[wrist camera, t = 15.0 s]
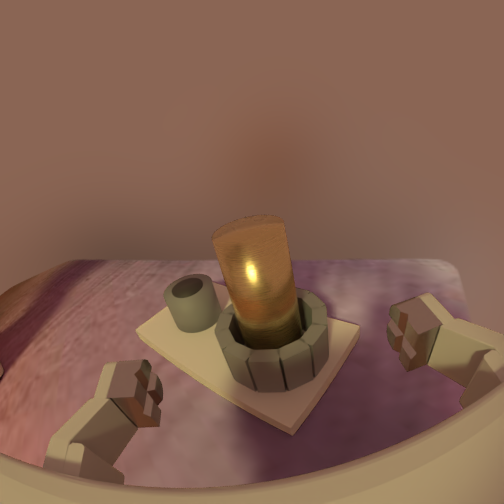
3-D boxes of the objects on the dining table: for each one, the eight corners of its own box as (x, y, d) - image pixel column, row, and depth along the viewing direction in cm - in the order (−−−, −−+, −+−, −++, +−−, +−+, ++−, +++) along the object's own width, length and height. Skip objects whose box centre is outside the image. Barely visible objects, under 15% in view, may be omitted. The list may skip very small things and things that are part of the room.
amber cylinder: (239, 360, 25) (197, 241, 19) (270, 327, 28) (243, 213, 23) (284, 380, 22) (253, 250, 16) (314, 341, 25) (297, 216, 20)
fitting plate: (140, 338, 32) (120, 302, 30) (207, 288, 40) (195, 252, 37) (292, 435, 18) (284, 399, 16) (359, 336, 26) (361, 291, 23)
